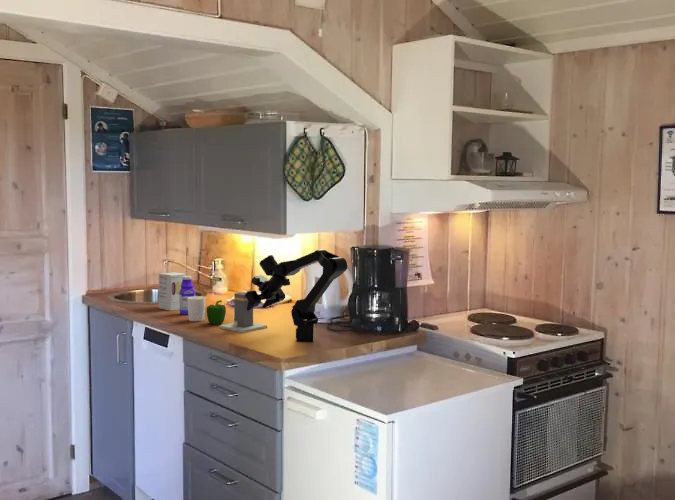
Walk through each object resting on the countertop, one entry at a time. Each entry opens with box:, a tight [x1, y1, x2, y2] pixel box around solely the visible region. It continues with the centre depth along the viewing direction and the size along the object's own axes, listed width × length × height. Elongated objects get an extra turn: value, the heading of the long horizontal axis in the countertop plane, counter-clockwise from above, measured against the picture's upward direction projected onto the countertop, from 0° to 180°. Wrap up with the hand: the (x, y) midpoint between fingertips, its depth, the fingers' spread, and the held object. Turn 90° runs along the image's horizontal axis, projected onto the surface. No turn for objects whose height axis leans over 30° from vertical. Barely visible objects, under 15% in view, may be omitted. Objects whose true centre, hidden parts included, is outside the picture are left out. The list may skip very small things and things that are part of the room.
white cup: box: [187, 295, 206, 322], centre depth 326 cm, size 8×8×10 cm
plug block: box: [233, 291, 254, 327], centre depth 311 cm, size 6×6×14 cm
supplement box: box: [158, 271, 187, 312], centre depth 353 cm, size 10×9×17 cm
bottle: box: [178, 275, 196, 315], centre depth 339 cm, size 7×6×17 cm
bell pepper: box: [206, 299, 227, 325], centre depth 319 cm, size 8×8×10 cm
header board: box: [219, 320, 268, 334], centre depth 311 cm, size 14×14×4 cm
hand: (255, 308), depth 306 cm, fingers open, 9 cm apart
